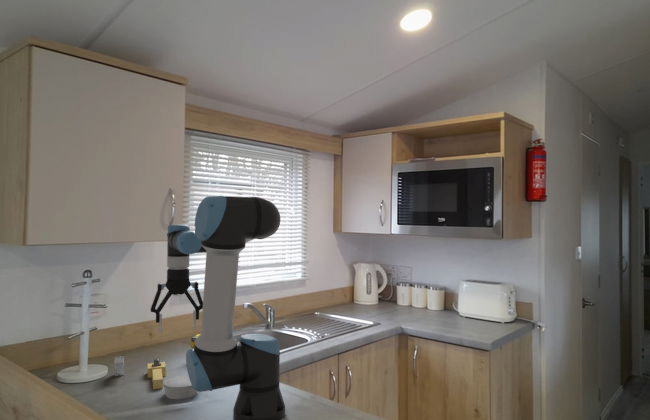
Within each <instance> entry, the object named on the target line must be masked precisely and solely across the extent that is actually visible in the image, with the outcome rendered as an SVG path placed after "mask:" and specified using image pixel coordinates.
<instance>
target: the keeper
mask: <svg viewBox="0 0 650 420" xmlns="http://www.w3.org/2000/svg"><path fill="white" fill-rule="evenodd" d="M113 369H114V377H120V376H121V377H122V376H124V375H125V356H124V355H121V356H115V357H114V362H113Z"/></svg>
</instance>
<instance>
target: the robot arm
mask: <svg viewBox="0 0 650 420" xmlns="http://www.w3.org/2000/svg"><path fill="white" fill-rule="evenodd" d="M280 226H281V214H280V211H279V209H278V208H277V206H276V205H275V204H274V203H273V202H272V201H270V200H269V199H267V198H264V197H261V196H245V195H243V196H242V195H241V196H240V195H225V194H218V195H208V196H205V197H204V198H203V199H202V200H201V202H200V203H199V205H198V206H197V210H196V213H195V217H194V230H190V226H189V224H169V225H168V226H167V233H166V236H167V239H166V240H167V248H166V249H167V256H166V258H167V259H166V261H167V262H166V267H167V270H166V282H165V283H161V282H158V283H157V290H156V293H155V296H154V298H153V301H152V304H151V307H150V312H151V313H155V322H156V324H157V323H158V324H159V325H158V326H159V327H158V332H159V333H160V334H161V333H162V332H163V313H162V312H161V311H162V310H163V308H164V307H165V305H166V304H167V302H168V301H169V299H170V298H171V296H172V295H173V296H177V295H185V296H186V298H187V299H188V301H189V302H190V303H191V305H192V306H193V308H194V309H193V310H192V329H193V331H195V330H197V321H198V320H200V311H201V310H202V312H201V328H200V334H201V335H200V336H198V337H197V338H196V339H195V343H194V349H193V348H191V347H190V348H189V349H187V351H186V354H185V363H186V369H187V371H186V372H187V375H188V376H189V379H190V382H191V384H192V386H193V388H194V389H195V390H196V391H198V392H199V393H202V392H209V391H210V392H213V391H214V390H218V389H224V388H229V387H233V386H234V387H235V386H238V385H239V389H238V390H239V391H238V393H237V397H236V400H235V403H234V405H233V411H232V413H233V419H234V420H283V419H284V418H285V415H286V403H285V401H284V397H283V395H282V394H283V393H282V392H281V388H280V368H281V367H280V362H281V361H280V360H281V359H280V358H281V357H280V355H281V352H280V342H279V340H278V339H277V338H276V337H274V336H271V335H268V334H262V333H245V334H241V335H240V337H239V339H237V338H236V337H235V335H233V333H234V332H233V331H234V321H235V318H234V317H235V307H236V295H237V284H238V270H239V269H238V268H239V258H240V257H239V256H240V253H241V252H242V251H243V250H244V249H245V248H246V243H249V242H251V241H253V240H265V239H267V238H270V237H271V236H273V235H275V233H276V232H277V231H278V229H279V228H280ZM194 254H206V255H205V271H204V283H203V295H201V293H200V291H199V282H198V281H194V282H191V281H190V268H189V267H190V255H194ZM190 287H192V289H193V290H194V292H195V296H196V299H197V301H198V304H199V305H197V303H196V302H195V300H194V298H193V297H192V295H191V294H190V292H189V291H188V289H189V288H190ZM164 288H166V289H167V290H168V291H167V293H166V294H165V296H164V297H163V299H162V300H161V301H160V303H159V305H158V306H157V304H158V302H159V300H160V298H161V297H160V296H161V293H162V291H163V290H165V289H164ZM202 296H203V298H202ZM156 307H157V308H156ZM198 392H197V393H198ZM283 417H284V418H283ZM282 418H283V419H282Z"/></svg>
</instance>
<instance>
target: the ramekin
mask: <svg viewBox="0 0 650 420" xmlns="http://www.w3.org/2000/svg"><path fill="white" fill-rule="evenodd" d="M163 388H164V393H165V397H166V398H168V399H170V400H184V399H190V398H191V397H194V396H196V395H197V394H198V391H196V390H195V389H194V388H193V386H192V384H191V382H190V379H189V375H188V374H187V375H176V376H172V377H170V378H167V379H166V380H163Z"/></svg>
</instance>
